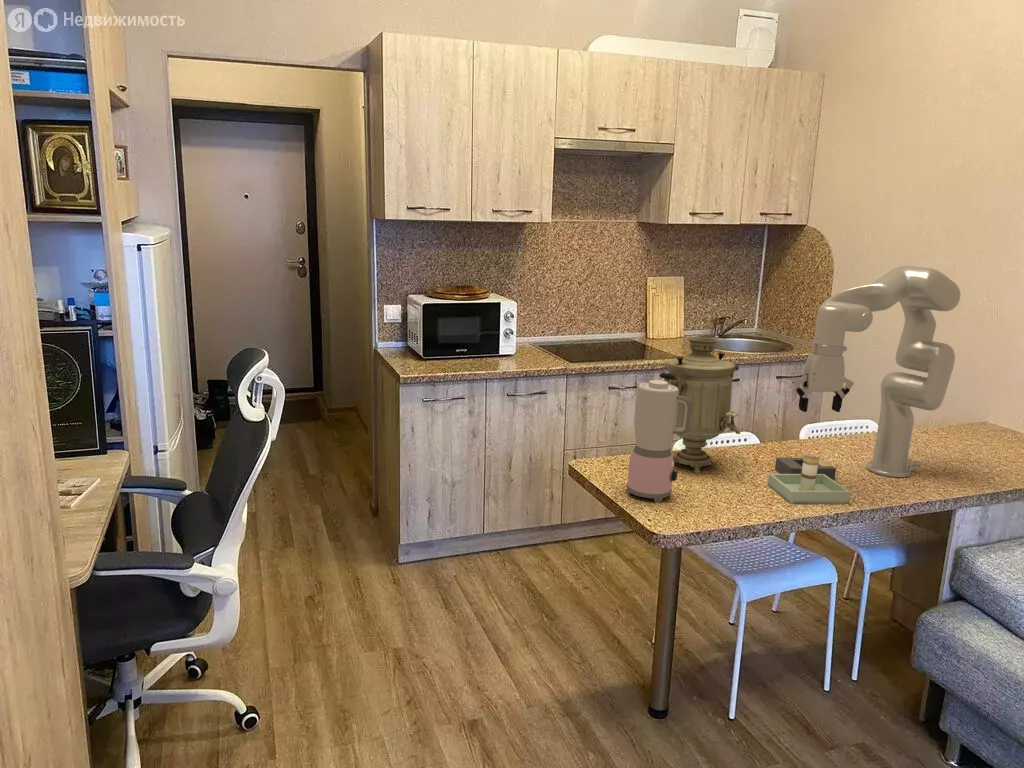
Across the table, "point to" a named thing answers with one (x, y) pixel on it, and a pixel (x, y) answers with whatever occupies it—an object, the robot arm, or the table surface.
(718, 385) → the samovar
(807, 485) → the fuse
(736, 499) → the table surface
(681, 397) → the blender
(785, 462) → the fuse block
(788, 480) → the parts tray
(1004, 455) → the table surface
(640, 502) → the table surface
